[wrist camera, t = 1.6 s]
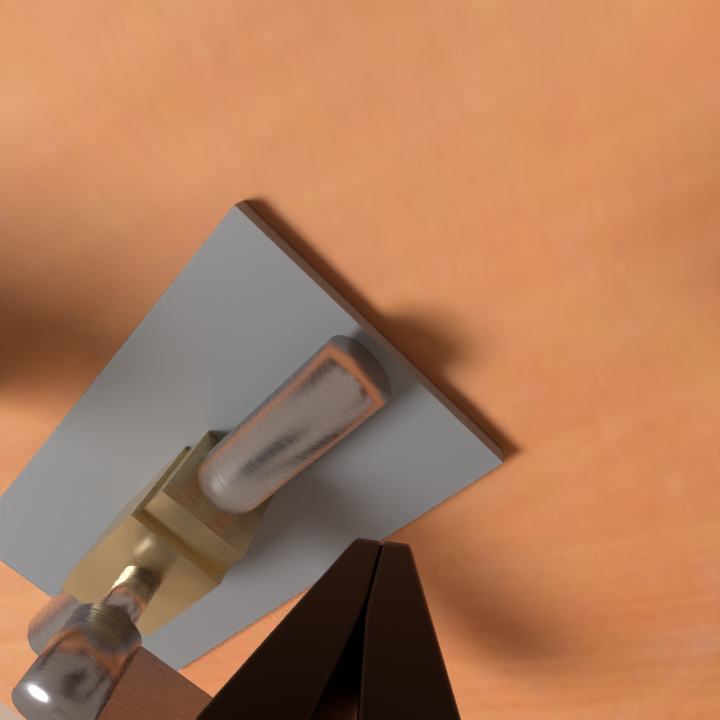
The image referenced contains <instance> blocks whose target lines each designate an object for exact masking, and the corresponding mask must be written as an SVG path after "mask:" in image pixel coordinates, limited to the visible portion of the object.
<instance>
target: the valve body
mask: <svg viewBox="0 0 720 720" xmlns="http://www.w3.org/2000/svg"><path fill="white" fill-rule="evenodd" d="M391 394H392V391H391V385H390V382H389V379H388V377H387V374H386V373H385V371H384V369H383V367H382V366H381V364H380V363H379V362H378V360H377V359H376V358H375V357H374V356H373V354H372V353H371V352H370V351H369V350H367V349H366V348H365V347H364V346H363V345H362V344H360V343H359V342H357V341H356V340H354V339H352V338H350V337H347V336H344V335H335V336H333V337H332V338H331V339H330V340H328V341H327V342H326V343H325V344H324V345H323V346H322V347H321V348H320V349H319V350H318V351H317V352H316V353H315V354H313V355H312V356H311V357H310V358H309V359H308V360H307V361H306V362H305V363H304V364H303V365H302V366H301V367H300V368H298V369H297V370H296V371H295V372H294V373H293V374H292V375H291V376H290V377H289V378H288V379H287V380H286V381H285V382H283V383H282V384H281V385H280V386H279V387H278V388H277V389H276V390H275V391H274V392H273V393H272V394H271V395H270V396H268V397H267V398H266V399H265V400H264V401H263V402H262V403H261V404H260V405H259V406H258V407H257V408H256V409H255V410H253V411H252V412H251V413H250V414H249V415H248V416H247V417H246V418H245V419H244V420H243V421H242V422H241V423H240V424H238V425H237V426H236V427H235V428H234V429H233V430H232V431H231V432H230V433H229V434H228V435H227V436H226V437H225V438H223V439H222V440H221V441H220V440H219V439H218V438H217V437H216V436H215V435H213V434H212V433H211V432H210V431H208V432H207V433H206V434H204V435H203V436H202V437H201V438H200V439H199V440H198V441H197V442H196V443H195V444H194V445H193V446H192V447H191V448H190V449H188V448H187V447H185V448H184V449H183V450H182V451H180V452H179V453H178V454H177V455H176V456H175V457H174V458H173V459H172V460H171V461H170V462H169V463H168V464H167V465H166V466H165V467H164V468H163V469H162V470H161V471H160V472H159V473H158V474H157V475H156V476H155V477H154V478H153V479H152V480H151V481H150V482H149V483H148V484H147V485H146V486H145V487H144V488H143V489H142V490H140V491H139V492H138V493H137V494H136V495H135V496H134V497H133V498H132V499H131V500H130V501H129V502H128V503H127V504H126V505H125V506H124V507H123V509H122V510H121V511H120V512H119V513H118V515H117V516H116V517H115V518H114V519H113V521H112V522H111V523H110V524H109V526H108V527H107V528H106V529H105V530H104V532H103V533H102V534H101V535H100V536H99V538H98V539H97V540H96V541H95V542H94V544H93V545H92V546H91V547H90V548H89V550H88V551H87V552H86V553H85V554H84V556H83V557H82V558H81V559H80V560H79V562H78V563H77V564H76V565H75V566H74V568H73V569H72V570H71V571H70V572H69V574H68V575H67V576H66V577H68V578H67V579H66V580H65V582H64V583H63V584H62V585H61V586H60V587H61V588H63V589H62V590H61V591H60V592H58V593H57V594H56V595H55V596H54V597H53V598H52V599H51V600H50V601H49V602H48V603H47V604H46V605H45V606H43V607H42V608H41V609H40V610H39V611H38V612H37V613H36V614H35V615H34V617H33V618H32V620H31V622H30V624H29V628H28V641H29V644H30V647H31V648H32V650H33V651H34V652H35V653H36V654H37V655H38V656H39V655H40V654H41V653H42V651H43V650H44V649H45V647H46V646H47V645H48V643H49V642H50V641H51V639H52V638H53V637H54V636H55V634H56V633H57V632H58V630H59V629H60V628H61V626H62V625H63V624H64V622H65V621H66V620H67V619H68V617H69V616H70V615H71V613H72V612H73V611H74V609H75V608H76V607H78V606H80V605H82V604H88V603H94V604H100V605H104V606H107V607H110V608H112V609H114V610H116V611H118V612H120V613H122V614H123V615H125V616H126V617H127V618H128V619H129V620H131V621H132V622H133V624H134V625H135V626H136V627H137V629H138V630H139V632H140V633H141V632H143V633H144V634H145V635H147V636H148V637H149V636H150V635H151V634H153V633H154V632H156V631H157V630H158V629H160V628H161V627H162V626H164V625H165V624H167V623H168V622H169V621H171V620H172V619H174V618H175V617H176V616H178V615H179V614H180V613H182V612H183V611H185V610H186V609H187V608H189V607H190V606H191V605H193V604H194V603H196V602H197V601H198V600H200V599H201V598H203V597H204V596H205V595H207V594H208V593H209V592H211V591H212V590H214V589H215V588H216V587H218V586H219V585H220V584H221V582H222V580H223V578H224V576H225V574H226V572H227V570H228V568H229V567H230V566H231V565H233V564H234V563H236V562H237V561H238V560H240V559H241V558H242V557H244V555H245V553H246V551H247V549H248V547H249V545H250V543H251V541H252V539H253V537H254V534H255V532H256V530H257V528H258V526H259V524H260V522H261V520H262V518H263V516H264V514H265V512H266V510H267V508H268V506H269V504H270V502H271V500H272V498H273V496H274V494H275V492H276V491H277V490H278V489H279V488H281V487H282V486H283V485H285V484H286V483H287V482H288V481H290V480H291V479H292V478H293V477H295V476H296V475H297V474H298V473H300V472H301V471H302V470H303V469H305V468H306V467H307V466H308V465H310V464H311V463H312V462H313V461H315V460H316V459H317V458H318V457H320V456H321V455H322V454H323V453H325V452H326V451H327V450H329V449H330V448H331V447H332V446H334V445H335V444H336V443H337V442H339V441H340V440H341V439H342V438H344V437H345V436H346V435H347V434H349V433H350V432H351V431H352V430H354V429H355V428H356V427H357V426H359V425H360V424H361V423H362V422H364V421H365V420H366V419H367V418H369V417H370V416H371V415H372V414H374V413H375V412H376V411H378V410H379V409H380V408H381V407H383V406H384V405H385V404H386V403H388V402H389V400H390V398H391Z"/></svg>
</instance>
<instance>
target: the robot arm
mask: <svg viewBox="0 0 720 720" xmlns="http://www.w3.org/2000/svg"><path fill="white" fill-rule="evenodd" d="M195 720H461V718H460V715H459V711H458V708H457V704H456V701H455V697H454V694H453V690H452V687H451V684H450V680H449V677H448V673H447V670H446V666H445V663H444V659H443V656H442V653H441V649H440V646H439V642H438V639H437V635H436V632H435V628H434V625H433V622H432V618H431V615H430V611H429V608H428V604H427V601H426V597H425V594H424V591H423V587H422V584H421V580H420V577H419V573H418V570H417V566H416V563H415V560H414V556H413V553H412V549H411V547H410V546H409V545H408V544H404V543H396V542H385V543H384V544H383V545H382V543H381V542H380V541H378V540H371V539H363V538H357V539H355V540H353V541H352V542H351V544H350V545H349V546H348V547H347V548H346V549H345V550H344V551H343V553H342V554H341V555H340V556H339V557H338V558H337V559H336V560H335V562H334V563H333V564H332V565H331V566H330V567H329V568H328V569H327V571H326V572H325V573H324V574H323V575H322V576H321V577H320V578H319V580H318V581H317V582H316V583H315V584H314V585H313V586H312V587H311V589H310V590H309V591H308V592H307V593H306V594H305V595H304V596H303V598H302V599H301V600H300V601H299V602H298V603H297V604H296V605H295V606H294V608H293V609H292V610H291V611H290V612H289V613H288V614H287V615H286V617H285V618H284V619H283V620H282V621H281V622H280V623H279V624H278V626H277V627H276V628H275V629H274V630H273V631H272V632H271V633H270V635H269V636H268V637H267V638H266V639H265V640H264V641H263V642H262V644H261V645H260V646H259V647H258V648H257V649H256V650H255V651H254V653H253V654H252V655H251V656H250V657H249V658H248V659H247V660H246V662H245V663H244V664H243V665H242V666H241V667H240V668H239V669H238V671H237V672H236V673H235V674H234V675H233V676H232V677H231V678H230V680H229V681H228V682H227V683H226V684H225V685H224V686H223V687H222V689H221V690H220V691H219V692H218V693H217V694H216V695H215V696H214V697H213V699H212V700H211V701H210V702H209V703H208V704H207V705H206V706H205V708H204V709H203V710H202V711H201V712H200V713H199V714H198V715H197V717H196V718H195Z"/></svg>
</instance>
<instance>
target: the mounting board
mask: <svg viewBox="0 0 720 720" xmlns="http://www.w3.org/2000/svg"><path fill="white" fill-rule="evenodd" d="M335 335H344V336H347V337H350V338H352V339H354V340H356V341H357V342H359V343H360V344H362V345H363V346H364V347H365V348H366V349H367V350H369V351H370V352H371V353H372V354H373V356H374V357H375V358H376V359H377V360H378V362H379V363H380V364H381V366H382V367H383V369H384V371H385V373H386V374H387V377H388V379H389V382H390V385H391V391H392V394H391V398H390V400H389V402H388V403H386V404H385V405H384V406H383V407H381V408H380V409H379V410H378V411H376V412H375V413H374V414H372V415H371V416H370V417H369V418H367V419H366V420H365V421H364V422H362V423H361V424H360V425H359V426H357V427H356V428H355V429H354V430H352V431H351V432H350V433H349V434H347V435H346V436H345V437H344V438H342V439H341V440H340V441H339V442H337V443H336V444H335V445H334V446H332V447H331V448H330V449H329V450H327V451H326V452H325V453H323V454H322V455H321V456H320V457H318V458H317V459H316V460H315V461H313V462H312V463H311V464H310V465H308V466H307V467H306V468H305V469H303V470H302V471H301V472H300V473H298V474H297V475H296V476H295V477H293V478H292V479H291V480H290V481H288V482H287V483H286V484H285V485H283V486H282V487H281V488H279V489H278V490H277V491H276V492H275V494H274V496H273V498H272V500H271V502H270V504H269V506H268V508H267V510H266V512H265V514H264V516H263V518H262V520H261V522H260V524H259V526H258V528H257V530H256V532H255V534H254V537H253V539H252V541H251V543H250V545H249V547H248V549H247V551H246V553H245V555H244V557H242V558H241V559H240V560H238V561H237V562H236V563H234V564H233V565H231V566H230V567H229V568H228V570H227V572H226V574H225V576H224V578H223V580H222V582H221V584H220V585H219V586H218V587H216V588H215V589H214V590H212V591H211V592H209V593H208V594H207V595H205V596H204V597H203V598H201V599H200V600H198V601H197V602H196V603H194V604H193V605H191V606H190V607H189V608H187V609H186V610H185V611H183V612H182V613H180V614H179V615H178V616H176V617H175V618H174V619H172V620H171V621H169V622H168V623H167V624H165V625H164V626H162V627H161V628H160V629H158V630H157V631H156V632H154V633H153V634H151V635H150V636H149V637H148V636H147V635H145V634H144V633H143V632H141V633H140V634H141V638H142V645H141V646H143V647H144V648H145V649H147V650H148V651H149V652H151V653H152V654H154V655H155V656H156V657H158V658H159V659H160V660H162V661H163V662H165V663H166V664H167V665H169V666H170V667H171V668H173V669H174V670H175V671H178V670H180V669H181V668H183V667H184V666H186V665H187V664H189V663H191V662H192V661H194V660H195V659H197V658H198V657H200V656H202V655H203V654H205V653H206V652H208V651H209V650H211V649H213V648H214V647H216V646H217V645H219V644H220V643H222V642H224V641H225V640H227V639H228V638H230V637H231V636H233V635H234V634H236V633H238V632H239V631H241V630H242V629H244V628H245V627H247V626H249V625H250V624H252V623H253V622H255V621H256V620H258V619H260V618H261V617H263V616H264V615H266V614H267V613H269V612H271V611H272V610H274V609H275V608H277V607H278V606H280V605H281V604H283V603H285V602H286V601H288V600H289V599H291V598H292V597H294V596H296V595H297V594H299V593H300V592H302V591H303V590H305V589H307V588H308V587H310V586H311V585H313V584H314V583H316V582H317V581H318V580H319V578H320V577H321V576H322V575H323V574H324V573H325V572H326V571H327V569H328V568H329V567H330V566H331V565H332V564H333V563H334V562H335V560H336V559H337V558H338V557H339V556H340V555H341V554H342V553H343V551H344V550H345V549H346V548H347V547H348V546H349V545H350V544H351V542H352V541H353V540H355V539H357V538H363V539H371V540H378V541H382V540H383V539H385V538H387V537H388V536H390V535H391V534H393V533H394V532H396V531H397V530H399V529H401V528H402V527H404V526H405V525H407V524H408V523H410V522H412V521H413V520H415V519H416V518H418V517H419V516H421V515H423V514H424V513H426V512H427V511H429V510H430V509H432V508H434V507H435V506H437V505H438V504H440V503H441V502H443V501H444V500H446V499H448V498H449V497H451V496H452V495H454V494H455V493H457V492H459V491H460V490H462V489H463V488H465V487H466V486H468V485H470V484H471V483H473V482H474V481H476V480H477V479H479V478H481V477H482V476H484V475H485V474H487V473H488V472H490V471H492V470H493V469H495V468H496V467H498V466H499V465H501V464H502V463H503V451H502V450H501V449H500V448H499V447H498V446H497V445H496V444H495V443H494V442H493V441H492V440H491V439H490V438H489V437H488V436H487V435H486V434H485V433H484V432H483V431H482V430H481V429H479V428H478V427H477V426H476V425H475V424H474V423H473V422H472V421H471V420H470V419H469V418H468V417H467V416H466V415H465V414H464V413H463V412H462V411H461V410H460V409H459V408H458V407H457V406H456V405H455V404H454V403H453V402H452V401H450V400H449V399H448V398H447V397H446V396H445V395H444V394H443V393H442V392H441V391H440V390H439V389H438V388H437V387H436V386H435V385H434V384H433V383H432V382H431V381H430V380H429V379H428V378H427V377H426V376H425V375H424V374H422V373H421V372H420V371H419V370H418V369H417V368H416V367H415V366H414V365H413V364H412V363H411V362H410V361H409V360H408V359H407V358H406V357H405V356H404V355H403V354H402V353H401V352H400V351H399V350H398V349H397V348H396V347H394V346H393V345H392V344H391V343H390V342H389V341H388V340H387V339H386V338H385V337H384V336H383V335H382V334H381V333H380V332H379V331H378V330H377V329H376V328H375V327H374V326H373V325H372V324H371V323H370V322H369V321H368V320H366V319H365V318H364V317H363V316H362V315H361V314H360V313H359V312H358V311H357V310H356V309H355V308H354V307H353V306H352V305H351V304H350V303H349V302H348V301H347V300H346V299H345V298H344V297H343V296H342V295H341V294H340V293H338V292H337V291H336V290H335V289H334V288H333V287H332V286H331V285H330V284H329V283H328V282H327V281H326V280H325V279H324V278H323V277H322V276H321V275H320V274H319V273H318V272H317V271H316V270H315V269H314V268H313V267H312V266H311V265H309V264H308V263H307V262H306V261H305V260H304V259H303V258H302V257H301V256H300V255H299V254H298V253H297V252H296V251H295V250H294V249H293V248H292V247H291V246H290V245H289V244H288V243H287V242H286V241H285V240H284V239H283V238H281V237H280V236H279V235H278V234H277V233H276V232H275V231H274V230H273V229H272V228H271V227H270V226H269V225H268V224H267V223H266V222H265V221H264V220H263V219H262V218H261V217H260V216H259V215H258V214H257V213H256V212H255V211H253V210H252V209H251V208H250V207H249V206H248V205H247V204H246V203H245V202H244V201H241V202H239V203H237V204H235V205H234V206H233V207H232V209H231V210H230V211H229V212H228V214H227V215H226V216H225V217H224V219H223V220H222V221H221V222H220V224H219V225H218V226H217V227H216V229H215V230H214V231H213V232H212V234H211V235H210V236H209V237H208V239H207V240H206V241H205V242H204V244H203V245H202V246H201V247H200V249H199V250H198V251H197V252H196V254H195V255H194V256H193V257H192V259H191V260H190V261H189V262H188V264H187V265H186V266H185V267H184V269H183V270H182V271H181V272H180V274H179V275H178V276H177V277H176V279H175V280H174V281H173V282H172V284H171V285H170V286H169V287H168V289H167V290H166V291H165V292H164V294H163V295H162V296H161V297H160V299H159V300H158V301H157V303H156V304H155V305H154V306H153V308H152V309H151V310H150V311H149V313H148V314H147V315H146V316H145V318H144V319H143V320H142V321H141V323H140V324H139V325H138V326H137V328H136V329H135V330H134V331H133V333H132V334H131V335H130V336H129V338H128V339H127V340H126V341H125V343H124V344H123V345H122V346H121V348H120V349H119V350H118V351H117V353H116V354H115V355H114V356H113V358H112V359H111V360H110V361H109V363H108V364H107V365H106V366H105V368H104V369H103V370H102V371H101V373H100V374H99V375H98V376H97V378H96V379H95V380H94V381H93V383H92V384H91V385H90V386H89V388H88V389H87V390H86V391H85V393H84V394H83V395H82V396H81V398H80V399H79V400H78V401H77V403H76V404H75V405H74V407H73V408H72V409H71V410H70V412H69V413H68V414H67V415H66V417H65V418H64V419H63V420H62V422H61V423H60V424H59V425H58V427H57V428H56V429H55V430H54V432H53V433H52V434H51V435H50V437H49V438H48V439H47V440H46V442H45V443H44V444H43V445H42V447H41V448H40V449H39V450H38V452H37V453H36V454H35V455H34V457H33V458H32V459H31V460H30V462H29V463H28V464H27V465H26V467H25V468H24V469H23V470H22V472H21V473H20V474H19V475H18V477H17V478H16V479H15V480H14V482H13V483H12V484H11V485H10V487H9V488H8V489H7V490H6V492H5V493H4V494H3V495H2V497H1V498H0V560H1V561H2V562H3V563H5V564H6V565H7V566H9V567H10V568H12V569H13V570H14V571H16V572H17V573H19V574H20V575H21V576H23V577H24V578H25V579H27V580H28V581H30V582H31V583H32V584H34V585H35V586H37V587H38V588H39V589H41V590H42V591H44V592H45V593H46V594H48V595H49V596H50V597H52V598H53V597H54V596H55V595H56V594H57V593H58V592H60V591H61V590H62V589H63V588H61V587H60V586H61V585H62V584H63V583H64V582H65V580H66V579H67V578H68V577H66V576H67V575H68V574H69V572H70V571H71V570H72V569H73V568H74V566H75V565H76V564H77V563H78V562H79V560H80V559H81V558H82V557H83V556H84V554H85V553H86V552H87V551H88V550H89V548H90V547H91V546H92V545H93V544H94V542H95V541H96V540H97V539H98V538H99V536H100V535H101V534H102V533H103V532H104V530H105V529H106V528H107V527H108V526H109V524H110V523H111V522H112V521H113V519H114V518H115V517H116V516H117V515H118V513H119V512H120V511H121V510H122V509H123V507H124V506H125V505H126V504H127V503H128V502H129V501H130V500H131V499H132V498H133V497H134V496H135V495H136V494H137V493H138V492H139V491H140V490H142V489H143V488H144V487H145V486H146V485H147V484H148V483H149V482H150V481H151V480H152V479H153V478H154V477H155V476H156V475H157V474H158V473H159V472H160V471H161V470H162V469H163V468H164V467H165V466H166V465H167V464H168V463H169V462H170V461H171V460H172V459H173V458H174V457H175V456H176V455H177V454H178V453H179V452H180V451H182V450H183V449H184V448H185V447H187V448H188V449H190V448H191V447H192V446H193V445H194V444H195V443H196V442H197V441H198V440H199V439H200V438H201V437H202V436H203V435H204V434H206V433H207V432H208V431H210V432H211V433H212V434H213V435H215V436H216V437H217V438H218V439H219V440H220V441H221V440H222V439H223V438H225V437H226V436H227V435H228V434H229V433H230V432H231V431H232V430H233V429H234V428H235V427H236V426H237V425H238V424H240V423H241V422H242V421H243V420H244V419H245V418H246V417H247V416H248V415H249V414H250V413H251V412H252V411H253V410H255V409H256V408H257V407H258V406H259V405H260V404H261V403H262V402H263V401H264V400H265V399H266V398H267V397H268V396H270V395H271V394H272V393H273V392H274V391H275V390H276V389H277V388H278V387H279V386H280V385H281V384H282V383H283V382H285V381H286V380H287V379H288V378H289V377H290V376H291V375H292V374H293V373H294V372H295V371H296V370H297V369H298V368H300V367H301V366H302V365H303V364H304V363H305V362H306V361H307V360H308V359H309V358H310V357H311V356H312V355H313V354H315V353H316V352H317V351H318V350H319V349H320V348H321V347H322V346H323V345H324V344H325V343H326V342H327V341H328V340H330V339H331V338H332V337H333V336H335Z"/></svg>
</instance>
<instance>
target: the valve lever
mask: <svg viewBox="0 0 720 720" xmlns="http://www.w3.org/2000/svg"><path fill="white" fill-rule="evenodd" d="M141 645H142V638H141V634H140V632H139V630H138V629H137V627H136V626H135V625H134V624H133V622H132V621H131V620H129V619H128V618H127V617H126V616H125V615H123V614H122V613H120V612H118V611H116V610H114V609H112V608H110V607H107V606H104V605H100V604H94V603H88V604H82V605H80V606H78V607H76V608H75V609H74V611H73V612H72V613H71V615H70V616H69V617H68V619H67V620H66V621H65V622H64V624H63V625H62V626H61V628H60V629H59V630H58V632H57V633H56V634H55V636H54V637H53V638H52V639H51V641H50V642H49V643H48V645H47V646H46V647H45V649H44V650H43V651H42V653H41V654H40V655H39V657H38V658H37V659H36V660H35V662H34V663H33V664H32V666H31V667H30V668H29V670H28V671H27V672H26V674H25V675H24V676H23V677H22V679H21V680H20V681H19V683H18V684H17V685H16V687H15V688H14V689H13V691H12V701H13V703H14V705H15V707H16V708H17V710H18V711H19V712H20V713H21V714H22V715H23V716H24V717H25V718H26V719H27V720H195V718H196V717H197V715H198V714H199V713H200V712H201V711H202V710H203V709H204V708H205V706H206V705H207V704H208V703H209V702H210V701H211V700H212V699H213V697H211V696H210V695H208V694H207V693H206V692H204V691H203V690H202V689H200V688H199V687H197V686H196V685H195V684H193V683H192V682H191V681H189V680H188V679H186V678H185V677H184V676H182V675H181V674H180V673H178V672H177V671H175V670H174V669H173V668H171V667H170V666H169V665H167V664H166V663H165V662H163V661H162V660H160V659H159V658H158V657H156V656H155V655H154V654H152V653H151V652H149V651H148V650H147V649H145V648H144V647H143V646H141Z"/></svg>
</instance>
